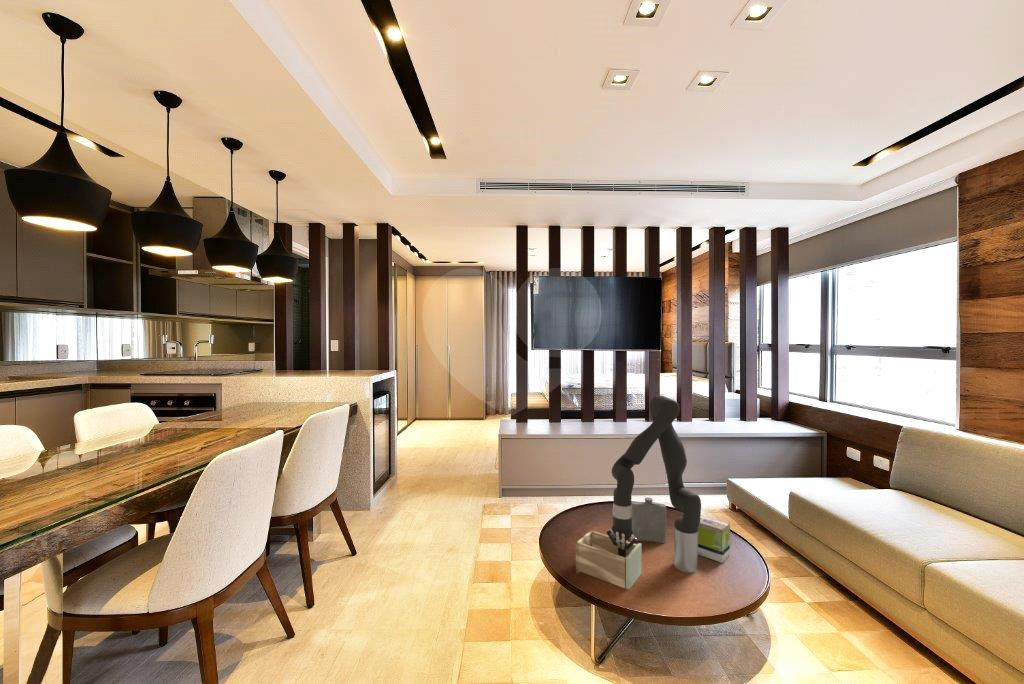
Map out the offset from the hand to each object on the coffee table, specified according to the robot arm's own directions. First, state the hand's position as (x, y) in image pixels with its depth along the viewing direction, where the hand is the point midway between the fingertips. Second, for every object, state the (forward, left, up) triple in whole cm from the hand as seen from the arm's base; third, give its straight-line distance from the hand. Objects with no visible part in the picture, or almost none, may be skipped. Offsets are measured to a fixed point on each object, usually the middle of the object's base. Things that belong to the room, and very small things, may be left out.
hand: (621, 557), depth 167 cm
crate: (0, -7, -9) cm, 11 cm away
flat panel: (0, +5, -8) cm, 9 cm away
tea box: (-43, +24, -9) cm, 50 cm away
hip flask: (-39, -2, -9) cm, 40 cm away
